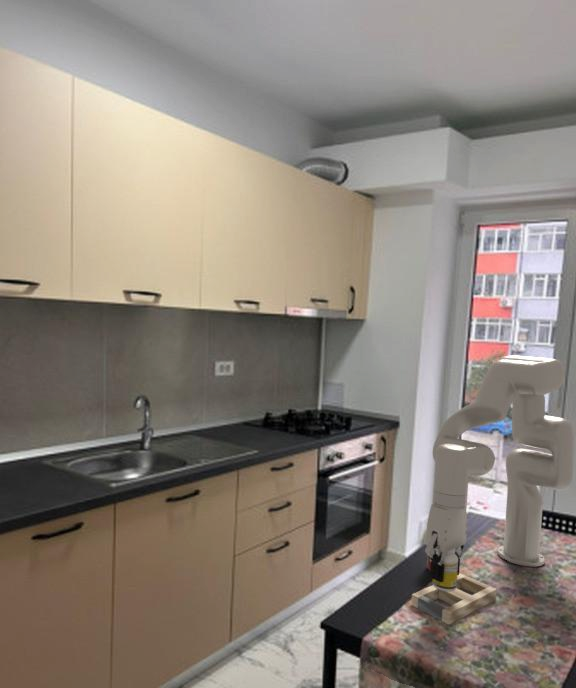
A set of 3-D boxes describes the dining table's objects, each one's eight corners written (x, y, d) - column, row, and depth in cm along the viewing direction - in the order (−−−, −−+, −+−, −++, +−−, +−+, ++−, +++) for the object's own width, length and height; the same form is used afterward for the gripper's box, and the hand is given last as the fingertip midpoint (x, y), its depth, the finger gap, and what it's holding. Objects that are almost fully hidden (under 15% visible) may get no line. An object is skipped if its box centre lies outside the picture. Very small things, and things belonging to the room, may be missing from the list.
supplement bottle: (429, 580, 126) (432, 539, 126) (452, 581, 126) (455, 540, 125) (435, 591, 120) (438, 548, 120) (459, 593, 120) (462, 550, 120)
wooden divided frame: (459, 582, 137) (460, 573, 136) (496, 599, 129) (496, 589, 129) (411, 604, 124) (411, 594, 124) (448, 624, 116) (449, 613, 116)
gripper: (456, 489, 131) (451, 561, 131) (413, 500, 120) (408, 579, 120) (484, 497, 125) (479, 573, 126) (442, 510, 114) (436, 593, 115)
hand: (444, 575), depth 123 cm, fingers closed on supplement bottle, 5 cm apart
